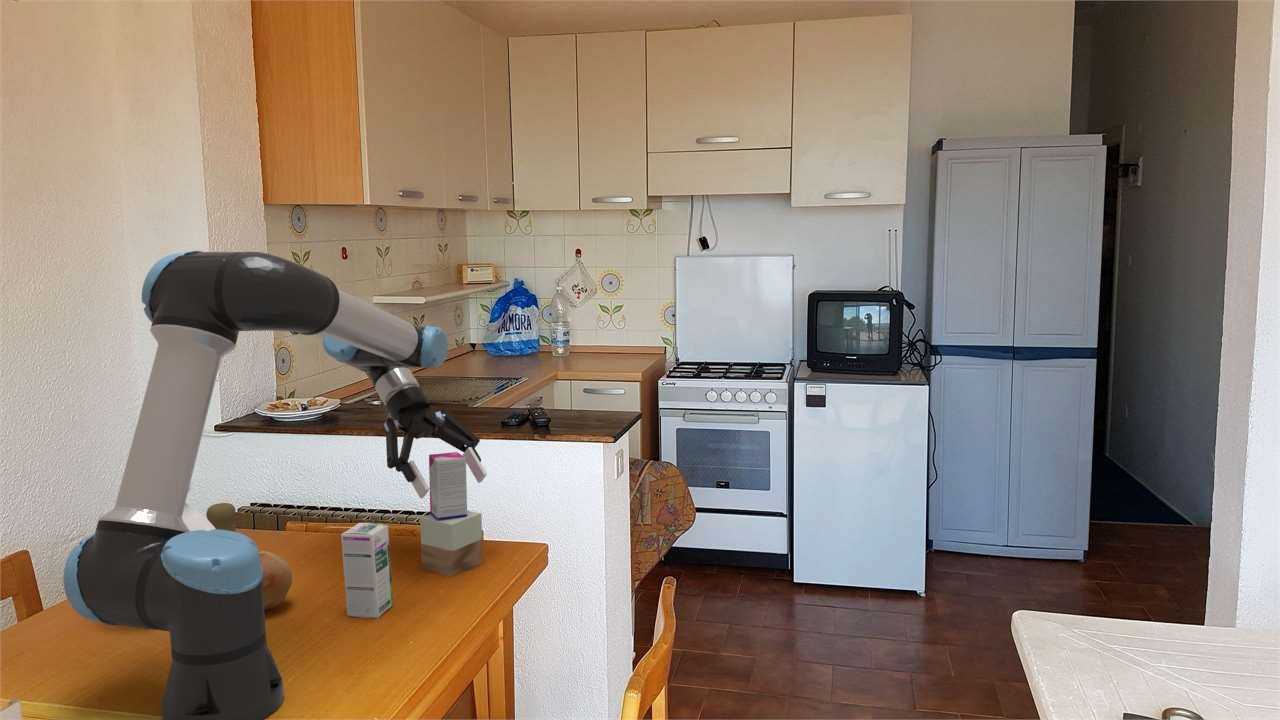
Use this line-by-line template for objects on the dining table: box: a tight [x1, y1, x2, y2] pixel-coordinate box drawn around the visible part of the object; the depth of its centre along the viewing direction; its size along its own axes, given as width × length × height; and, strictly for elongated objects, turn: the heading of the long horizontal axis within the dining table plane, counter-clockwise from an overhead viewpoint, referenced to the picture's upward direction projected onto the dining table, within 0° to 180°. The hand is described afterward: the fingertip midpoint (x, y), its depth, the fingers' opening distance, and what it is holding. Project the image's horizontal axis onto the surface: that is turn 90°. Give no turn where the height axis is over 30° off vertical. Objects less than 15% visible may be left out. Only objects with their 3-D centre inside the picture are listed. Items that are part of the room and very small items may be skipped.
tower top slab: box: [419, 510, 483, 551], centre depth 181 cm, size 8×8×5 cm
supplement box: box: [428, 451, 468, 521], centre depth 180 cm, size 6×6×12 cm
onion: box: [259, 550, 293, 611], centre depth 162 cm, size 10×10×10 cm
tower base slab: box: [420, 539, 483, 578], centre depth 182 cm, size 8×8×5 cm
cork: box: [205, 502, 237, 532], centre depth 187 cm, size 6×6×11 cm
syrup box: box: [340, 522, 394, 619], centre depth 160 cm, size 6×6×14 cm
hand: (454, 486), depth 178 cm, fingers open, 13 cm apart
